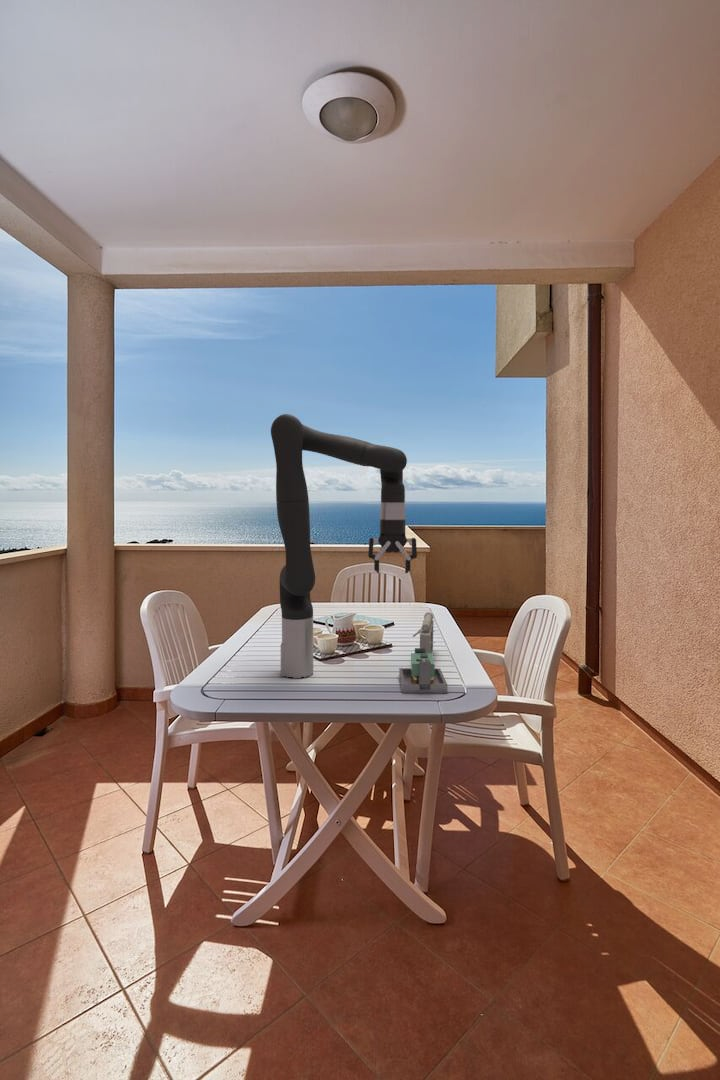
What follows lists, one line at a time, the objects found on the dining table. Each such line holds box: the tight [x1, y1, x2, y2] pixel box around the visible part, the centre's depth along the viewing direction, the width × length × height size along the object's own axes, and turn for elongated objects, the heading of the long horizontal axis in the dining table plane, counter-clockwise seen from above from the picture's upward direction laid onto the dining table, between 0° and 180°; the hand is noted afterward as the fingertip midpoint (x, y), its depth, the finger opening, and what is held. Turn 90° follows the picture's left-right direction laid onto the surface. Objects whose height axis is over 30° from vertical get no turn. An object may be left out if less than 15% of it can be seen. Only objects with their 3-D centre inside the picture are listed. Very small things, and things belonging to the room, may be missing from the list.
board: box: [410, 652, 436, 677], centre depth 140 cm, size 6×10×4 cm, turn 176°
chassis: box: [398, 647, 448, 695], centre depth 140 cm, size 12×13×8 cm
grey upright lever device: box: [412, 611, 436, 660], centre depth 166 cm, size 14×6×25 cm
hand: (392, 572), depth 149 cm, fingers open, 8 cm apart
